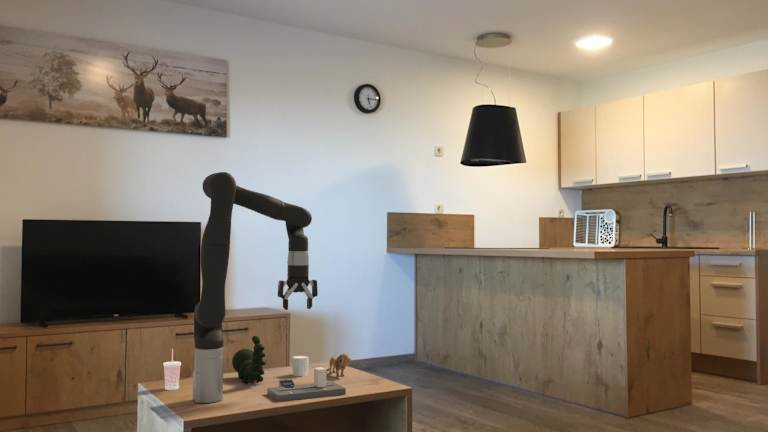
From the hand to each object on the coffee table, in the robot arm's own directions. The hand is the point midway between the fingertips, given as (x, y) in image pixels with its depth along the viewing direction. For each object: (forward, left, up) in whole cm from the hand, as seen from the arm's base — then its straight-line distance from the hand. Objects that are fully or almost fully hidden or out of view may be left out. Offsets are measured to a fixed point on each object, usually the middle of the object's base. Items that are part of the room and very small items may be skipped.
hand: (297, 309), depth 238 cm
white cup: (+9, +22, -28) cm, 37 cm away
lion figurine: (+22, +15, -28) cm, 39 cm away
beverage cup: (-40, +19, -28) cm, 53 cm away
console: (0, -10, -28) cm, 30 cm away
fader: (+5, -10, -28) cm, 30 cm away
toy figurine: (-12, +20, -28) cm, 37 cm away
